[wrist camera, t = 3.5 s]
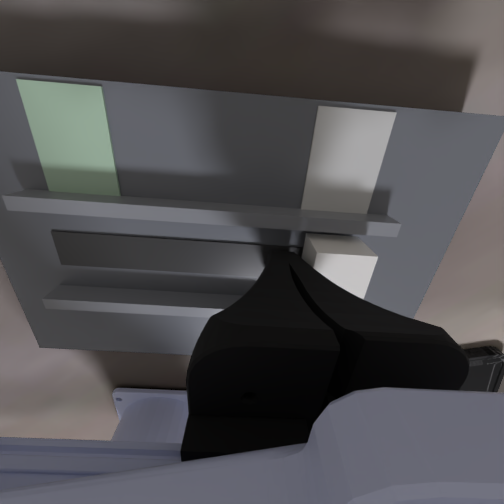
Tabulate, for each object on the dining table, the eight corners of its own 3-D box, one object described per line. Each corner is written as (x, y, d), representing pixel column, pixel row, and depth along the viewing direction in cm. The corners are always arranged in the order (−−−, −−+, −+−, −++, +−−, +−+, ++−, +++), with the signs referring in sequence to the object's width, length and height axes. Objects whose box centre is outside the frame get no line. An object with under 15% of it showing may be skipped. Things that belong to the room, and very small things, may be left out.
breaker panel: (373, 335, 18) (401, 382, 14) (67, 319, 17) (23, 364, 14) (460, 119, 12) (544, 114, 8) (-16, 78, 11) (-135, 53, 7)
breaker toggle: (339, 299, 13) (353, 327, 11) (294, 297, 13) (301, 324, 11) (357, 236, 11) (378, 256, 9) (306, 232, 11) (316, 252, 9)
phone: (489, 414, 21) (316, 435, 22) (478, 401, 22) (313, 422, 23) (512, 351, 18) (307, 380, 19) (498, 339, 19) (304, 367, 20)
